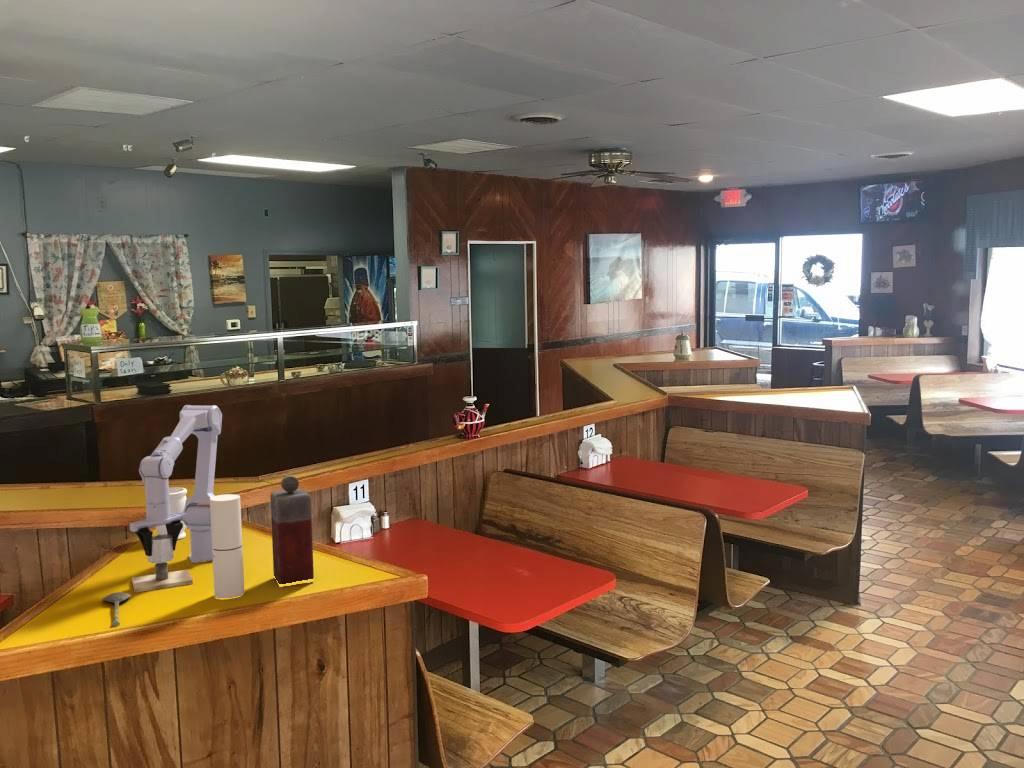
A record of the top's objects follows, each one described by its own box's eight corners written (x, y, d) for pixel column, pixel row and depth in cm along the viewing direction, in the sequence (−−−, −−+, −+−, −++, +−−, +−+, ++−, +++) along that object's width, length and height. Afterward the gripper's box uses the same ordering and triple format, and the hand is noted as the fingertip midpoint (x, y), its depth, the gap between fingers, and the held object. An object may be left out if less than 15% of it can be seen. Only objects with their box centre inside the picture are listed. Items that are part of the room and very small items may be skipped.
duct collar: (165, 555, 230) (164, 533, 230) (176, 559, 227) (175, 536, 226) (144, 560, 226) (143, 537, 225) (155, 564, 222) (154, 541, 222)
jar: (196, 536, 272) (194, 489, 270) (168, 544, 263) (165, 495, 261) (175, 531, 277) (172, 485, 276) (146, 539, 269) (143, 491, 267)
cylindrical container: (227, 602, 212) (223, 502, 209) (208, 597, 215) (203, 498, 213) (250, 593, 218) (246, 496, 215) (231, 588, 222) (226, 493, 219)
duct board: (187, 573, 235) (187, 555, 234) (192, 583, 226) (191, 565, 225) (131, 581, 228) (130, 562, 228) (134, 592, 219) (133, 573, 219)
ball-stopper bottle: (305, 570, 236) (301, 469, 233) (314, 582, 226) (310, 477, 223) (272, 575, 232) (267, 472, 229) (279, 587, 222) (274, 480, 219)
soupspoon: (132, 598, 218) (104, 603, 216) (131, 585, 218) (102, 590, 216) (130, 625, 198) (99, 631, 196) (129, 611, 198) (97, 617, 195)
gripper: (176, 494, 233) (178, 543, 234) (123, 504, 222) (125, 556, 223) (189, 498, 228) (192, 548, 230) (136, 508, 217) (139, 561, 219)
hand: (160, 552), depth 226 cm, fingers closed on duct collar, 6 cm apart
